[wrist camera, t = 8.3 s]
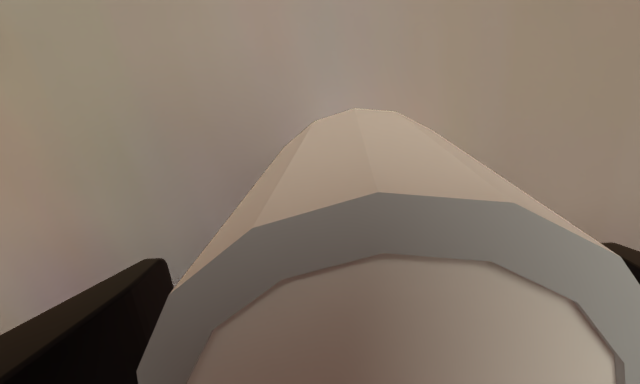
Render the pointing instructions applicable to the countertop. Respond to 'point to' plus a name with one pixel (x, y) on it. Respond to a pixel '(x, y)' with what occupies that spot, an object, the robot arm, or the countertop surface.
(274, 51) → the countertop surface
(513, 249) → the shot glass
